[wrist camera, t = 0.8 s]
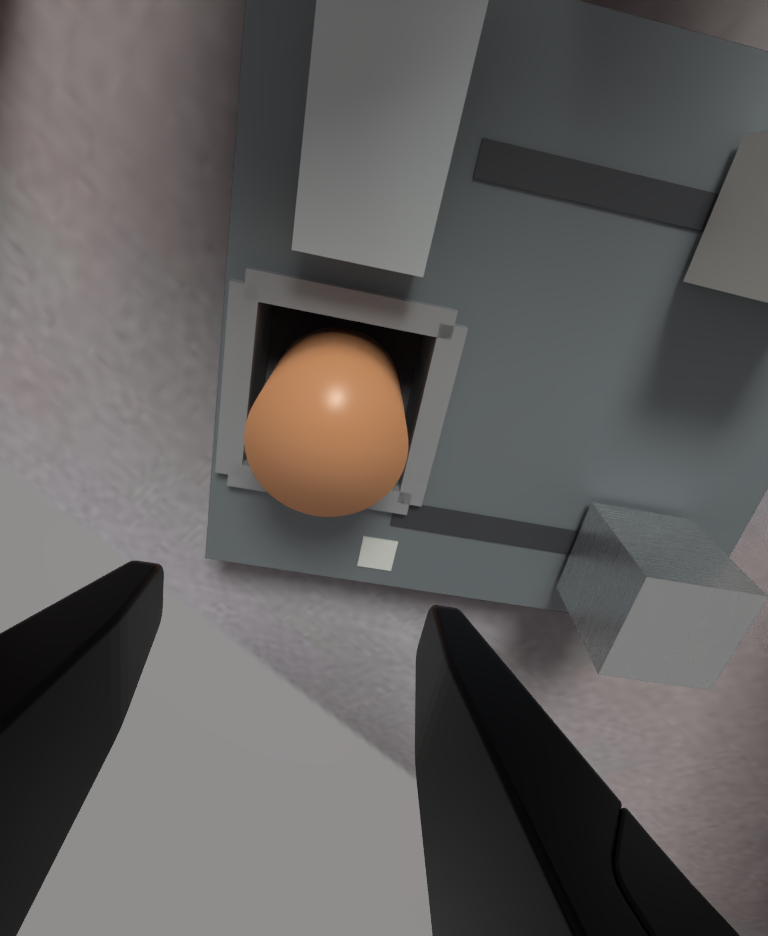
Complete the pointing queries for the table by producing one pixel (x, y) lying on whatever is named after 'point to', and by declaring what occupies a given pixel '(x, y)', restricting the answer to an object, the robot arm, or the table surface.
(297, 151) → the panel
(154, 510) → the table surface
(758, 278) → the white slider
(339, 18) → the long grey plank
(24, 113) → the table surface
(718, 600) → the grey slider
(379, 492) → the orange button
